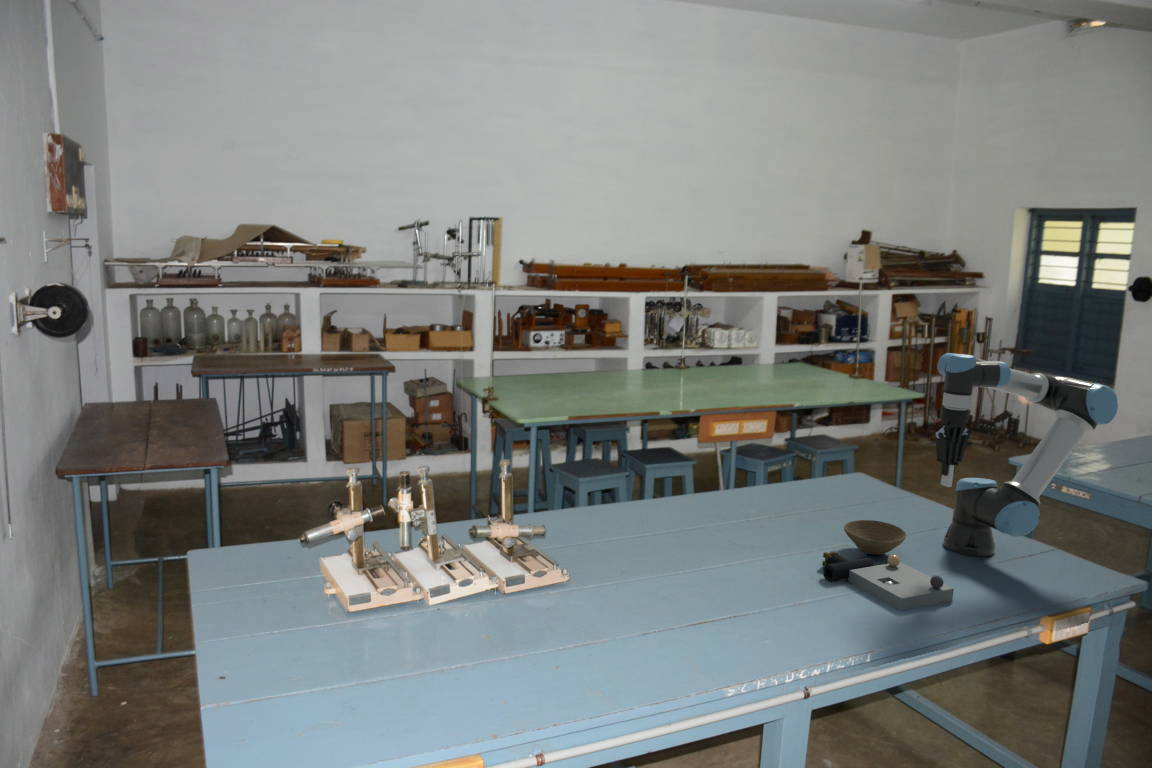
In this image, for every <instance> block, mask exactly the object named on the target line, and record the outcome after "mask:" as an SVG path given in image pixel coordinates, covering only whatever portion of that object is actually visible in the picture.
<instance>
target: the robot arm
mask: <svg viewBox="0 0 1152 768" xmlns="http://www.w3.org/2000/svg"><path fill="white" fill-rule="evenodd" d="M936 367H937V371H938V373H939V374H940V375H941V376H943V377H944V386H943V396H942V397H943V398H942V407H941V411H940V419H941V420H942V422H941V425H940V429H939V430H938V431H937V430H934V431H933V435H934V439H935V449H936V450H935V451H936V461H937V462H938V463H940V464H941V478H940V486H944V487H947V488H951V487H953V478H954V474H955V470H956V466H959V465H960V463H961V462H962V461H963V457H964V453H965V450H966V447H967V444H968V441H969V438H970V436H971V434H972V433H973V431H972V430H970V429H968V428H967V424H966V423H968V422H969V419H970V412H971V411H970V408H971V405H972V395H973V389H974V388H987V389H988V388H989V389H991V390H996V391H1000V392H1003V393H1007V394H1010V395H1014V396H1019V397H1022V398H1024V399H1025V400H1026V401H1027V402H1029V403H1032V404H1036V405H1038V406H1041V407H1044V408H1045V409H1047V410H1051V411H1053V412H1055V413H1054V414H1055V417H1056V419H1055V420H1054V422H1053V423H1052V425H1051V426H1050V427H1049V429H1048V430H1047V431H1046V433H1045V434H1044V436H1043V437H1042V439H1040V441H1039V443H1038V444H1037V446H1036V447H1035V448H1034V449H1033V451H1032V452H1031V454H1030V455H1029V457H1028V458H1026V460H1025V462H1024V463H1023V464H1022V466H1021V468H1019V470H1018V472H1017V473H1016V474H1015V476H1014V477H1013V479H1011V480H1009V481H1004V482H1003V483H1002V484H1001V486H1000V487H999V486H998V482H997V481H996V480H993V479H989V478H985V477H984V478H983V477H964V478H960V479H959V480H958V481H957V483H956V488H955V491H954V500H953V502H954V503H953V511H952V519H951V523H950V525H949V527H948V529H947V531H946V533H945V534H944V536H943V546H944V547H945V548H947V549H948V550H950V551H953V552H955V553H958V554H961V555H966V556H970V557H971V556H973V557H989V556H990V557H991V556H992V555H995V551H996V544H995V542H994V541H995V540H994V535H993V531H992V529H994V530H996V531H999V533H1001V534H1004V535H1008V536H1010V537H1016V538H1019V537H1024V536H1027V535H1028V534H1030V533H1031V532H1033V530H1034V529H1035V528H1036V527H1037V526H1038V524H1039V521H1040V518H1039V517H1040V516H1041V511H1040V509H1039V507H1040V505H1041V500H1040V496H1041V495H1042V493H1043V492H1044V490H1045V489H1046V488H1047V487H1048V485H1049V484H1050V482H1051V481H1052V479H1053V478H1054V476H1055V475H1056V474H1057V472H1058V471H1059V470H1060V469H1061V466H1063V464H1064V463H1065V461H1066V460H1067V459H1068V457H1069V456H1070V454H1071V453H1072V451H1073V450H1074V449H1075V447H1076V446H1077V445H1078V443H1079V442H1080V441H1081V439H1082V437H1083V436H1084V435H1085V434H1091V433H1092V432H1094V431H1095V429H1096V428H1097V427H1098V425H1099V426H1101V425H1103V426H1105V425H1106V424H1109V423H1111V422H1112V421H1113V420H1114V418H1115V417H1116V415H1117V411H1118V408H1119V403H1118V397H1117V394H1116V392H1115V391H1114V389H1112V388H1111V387H1109V386H1107V385H1104V384H1101V383H1098V382H1091V381H1087V380H1082V379H1077V378H1074V377H1069V376H1061V375H1052V374H1045V373H1041V372H1035V373H1029V372H1025V371H1022V370H1017V369H1013V368H1010V366H1009V364H1008V363H1006V361H1005V362H1004V361H998V360H993V361H992V360H986V359H980V358H976V356H975V355H971V354H967V353H966V354H965V353H954V352H953V353H952V352H945V353H944V354H942V355H941V356H940V357H939V359H938V362H937V366H936ZM998 487H999V489H998Z"/></svg>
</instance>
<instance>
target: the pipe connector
mask: <svg viewBox="0 0 1152 768" xmlns="http://www.w3.org/2000/svg"><path fill="white" fill-rule="evenodd" d="M822 558H824V560H822V561H821V562H822V564H821V566H823V568H822V574H823V577H824V579H825V580H826V581H828V582H829V583H835V582H842V581H844V580H845V581H846V580H847V581H848V580H849V570H853V569H859V568H865V567H871V566H876V565H875V564H874V561H873V559H871V558H870V557H865V558H860V559H853V560H849V559H848V558H846V557H844V556H842V554H840V553H838V552H836V551H834V550H833V551H830V552H828V551H826V552H825V551H824V552H823V553H822Z"/></svg>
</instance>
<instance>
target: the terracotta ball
mask: <svg viewBox="0 0 1152 768" xmlns="http://www.w3.org/2000/svg"><path fill="white" fill-rule="evenodd" d="M900 562H901V560H900V557H899V556H897V555H896V554H891V555H889V556H888V557H887V564H889V565H890V566H892V567H896V566H898V565H899V563H900Z"/></svg>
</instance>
